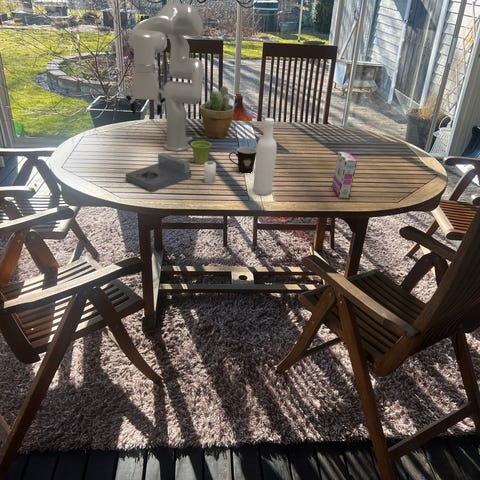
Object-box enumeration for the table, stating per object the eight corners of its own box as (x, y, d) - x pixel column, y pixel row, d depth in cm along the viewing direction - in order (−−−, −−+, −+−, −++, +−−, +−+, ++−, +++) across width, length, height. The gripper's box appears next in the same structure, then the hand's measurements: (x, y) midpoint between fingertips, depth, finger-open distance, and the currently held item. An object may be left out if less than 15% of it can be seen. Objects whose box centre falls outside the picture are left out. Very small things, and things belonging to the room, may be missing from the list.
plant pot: (214, 161, 215) (215, 143, 211) (204, 167, 207) (205, 148, 203) (197, 157, 218) (197, 139, 214) (186, 162, 211) (187, 144, 206)
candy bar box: (350, 199, 187) (357, 161, 179) (338, 198, 187) (345, 160, 179) (342, 187, 197) (349, 151, 189) (331, 187, 197) (337, 151, 188)
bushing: (209, 178, 197) (209, 160, 193) (217, 181, 194) (218, 163, 190) (201, 181, 193) (202, 163, 189) (210, 184, 191) (210, 166, 187)
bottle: (266, 197, 183) (273, 123, 168) (249, 192, 187) (255, 119, 172) (275, 191, 189) (283, 119, 174) (259, 186, 193) (265, 115, 178)
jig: (165, 167, 204) (164, 152, 200) (191, 177, 196) (191, 162, 192) (126, 180, 189) (125, 164, 185) (152, 192, 180) (151, 175, 177)
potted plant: (232, 141, 241) (235, 93, 229) (197, 139, 241) (198, 90, 229) (233, 131, 257) (235, 85, 245) (200, 129, 257) (201, 83, 244)
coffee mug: (257, 169, 209) (259, 148, 204) (251, 176, 202) (253, 154, 197) (233, 165, 212) (234, 144, 207) (227, 171, 205) (228, 150, 200)
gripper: (168, 68, 177) (169, 112, 186) (123, 65, 176) (126, 109, 185) (166, 71, 171) (167, 117, 179) (119, 68, 170) (122, 114, 178)
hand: (146, 113), depth 182 cm, fingers open, 9 cm apart
